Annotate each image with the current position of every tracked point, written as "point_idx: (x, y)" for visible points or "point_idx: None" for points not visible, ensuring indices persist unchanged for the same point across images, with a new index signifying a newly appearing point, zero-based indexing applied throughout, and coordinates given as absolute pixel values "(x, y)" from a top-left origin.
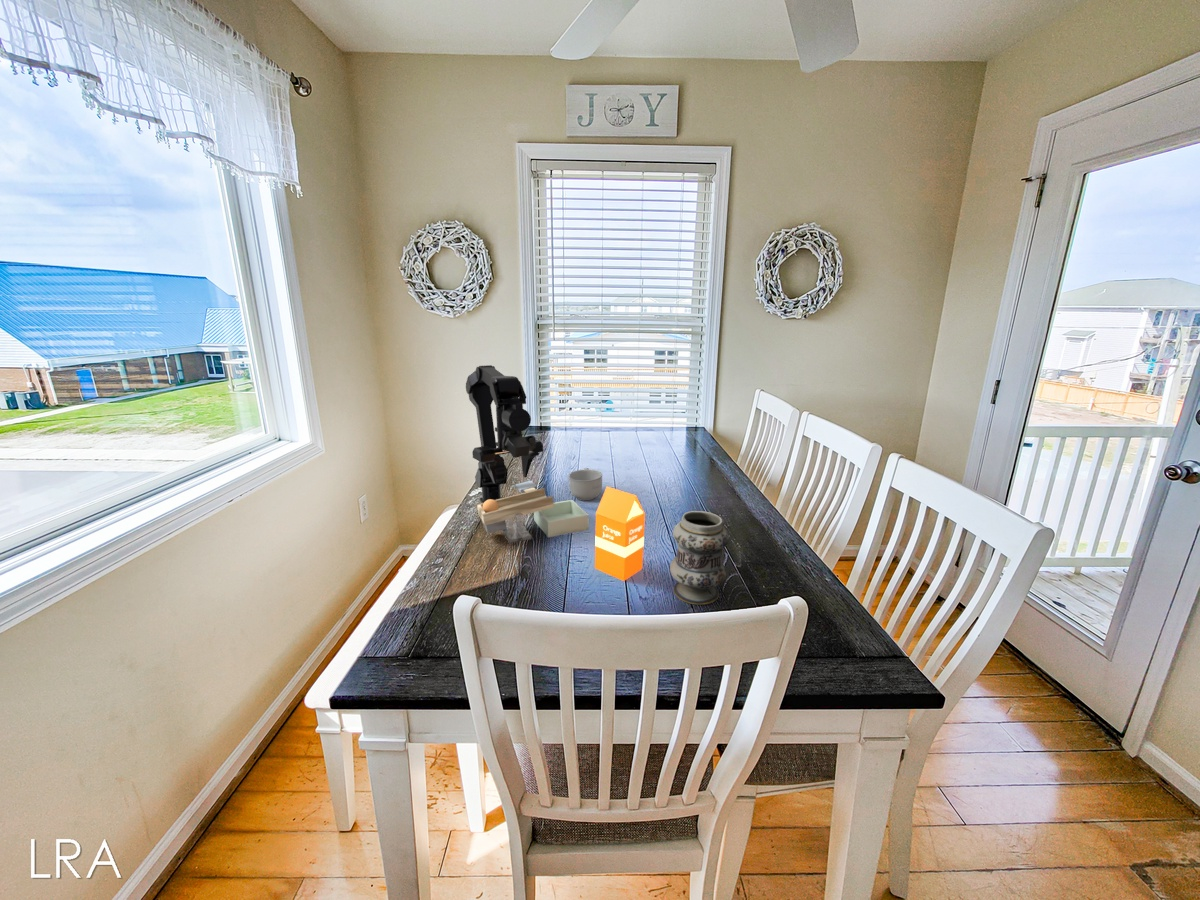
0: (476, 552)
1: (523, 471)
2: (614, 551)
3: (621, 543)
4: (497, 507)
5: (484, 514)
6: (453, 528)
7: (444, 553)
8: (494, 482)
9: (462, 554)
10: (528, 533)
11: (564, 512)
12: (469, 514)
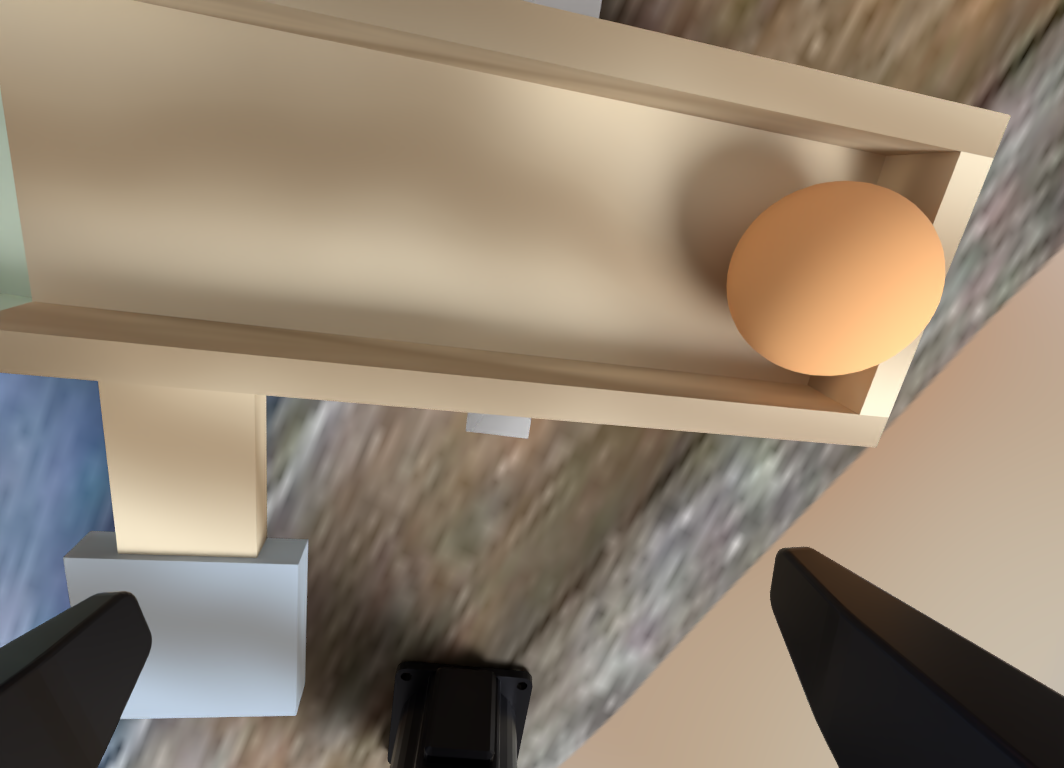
0: (900, 65)
1: (73, 747)
2: None
3: None
4: (775, 210)
5: (996, 113)
6: (821, 494)
7: (1061, 184)
8: (821, 569)
9: (988, 95)
10: None
11: (9, 296)
12: (650, 621)
